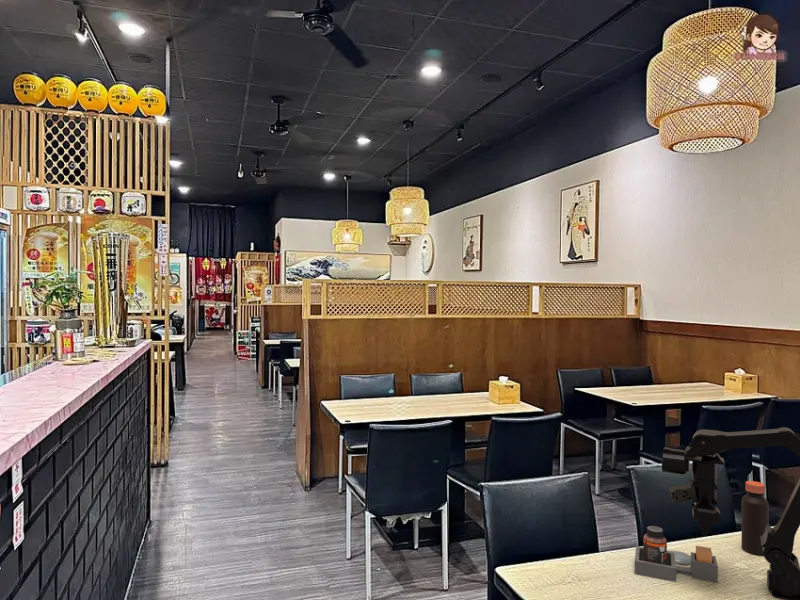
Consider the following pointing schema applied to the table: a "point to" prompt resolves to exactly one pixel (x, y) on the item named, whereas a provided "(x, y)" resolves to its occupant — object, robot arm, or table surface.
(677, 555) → the coaster
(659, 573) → the holder
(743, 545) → the vinegar
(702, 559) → the orange-brown cube
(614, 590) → the table surface
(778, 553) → the robot arm
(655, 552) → the supplement bottle
